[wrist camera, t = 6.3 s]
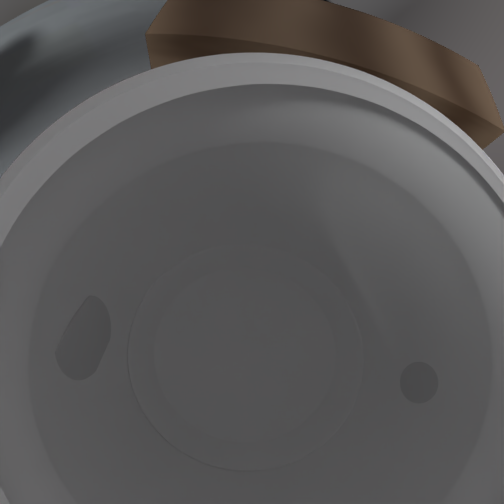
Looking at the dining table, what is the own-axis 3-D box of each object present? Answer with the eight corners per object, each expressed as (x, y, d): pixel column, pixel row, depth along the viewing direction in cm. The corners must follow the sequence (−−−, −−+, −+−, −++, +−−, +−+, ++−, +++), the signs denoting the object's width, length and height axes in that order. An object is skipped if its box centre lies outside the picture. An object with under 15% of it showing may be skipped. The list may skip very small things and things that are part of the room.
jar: (113, 369, 16) (-108, 422, 2) (214, 228, 19) (222, -14, 4) (265, 467, 16) (363, 663, 1) (359, 327, 18) (594, 287, 4)
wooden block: (157, 160, 20) (129, 59, 11) (192, 61, 22) (189, -30, 14) (432, 213, 21) (513, 159, 12) (417, 113, 24) (470, 49, 15)
